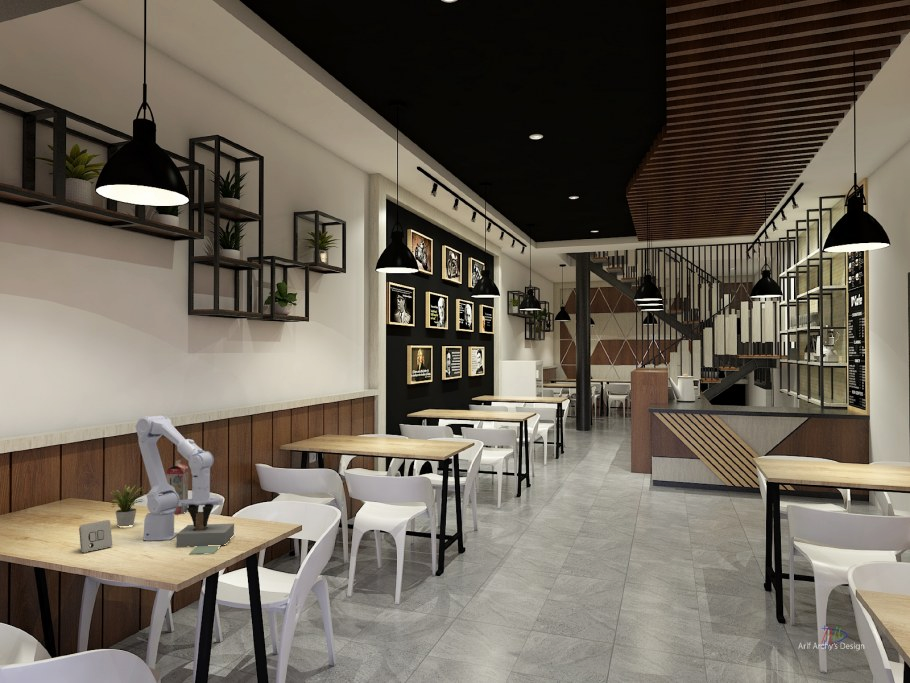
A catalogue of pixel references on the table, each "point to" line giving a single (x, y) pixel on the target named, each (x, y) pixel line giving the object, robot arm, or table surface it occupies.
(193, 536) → the panel
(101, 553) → the table surface
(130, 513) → the house plant
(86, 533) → the electrical switch
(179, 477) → the juice carton
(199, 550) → the mat
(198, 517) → the wooden peg
